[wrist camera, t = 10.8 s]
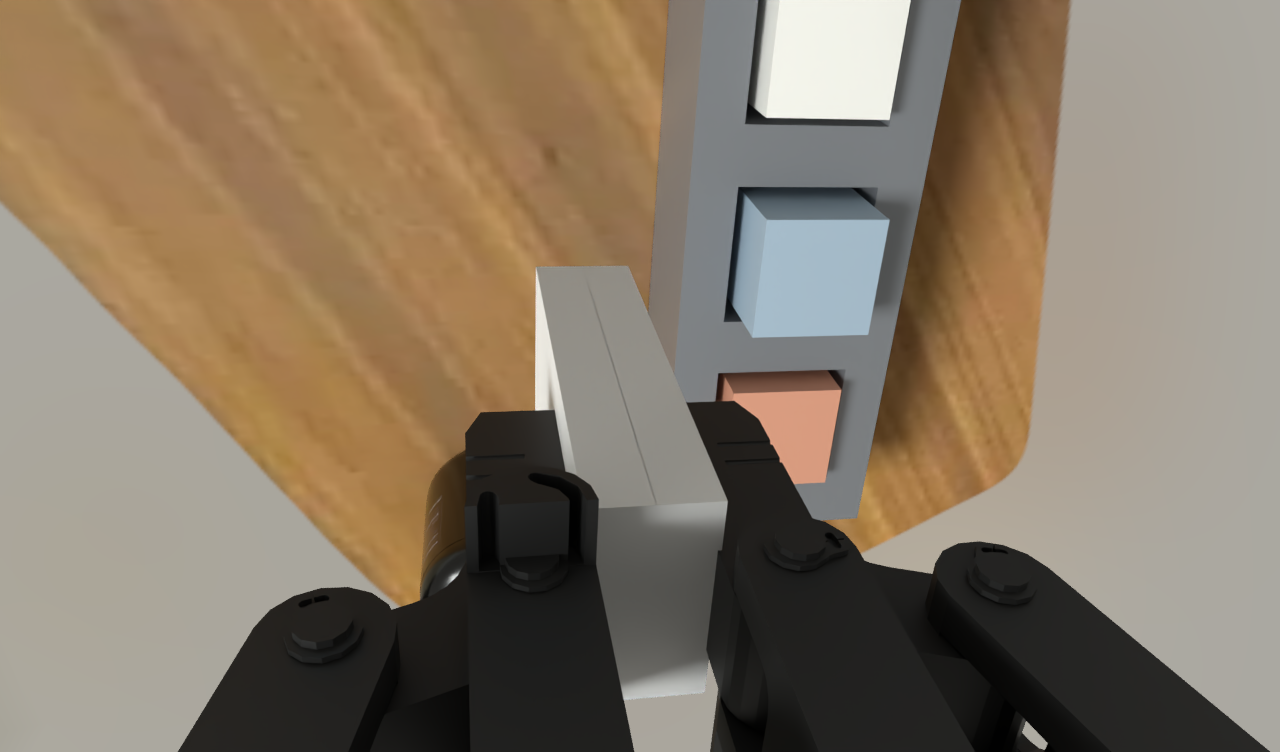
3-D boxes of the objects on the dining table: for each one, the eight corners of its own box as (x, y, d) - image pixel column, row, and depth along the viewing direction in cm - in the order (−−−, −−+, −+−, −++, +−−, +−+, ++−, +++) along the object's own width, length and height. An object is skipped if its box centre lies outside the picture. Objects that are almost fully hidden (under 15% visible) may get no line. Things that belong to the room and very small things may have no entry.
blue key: (733, 181, 41) (766, 219, 36) (844, 182, 42) (889, 219, 37) (722, 289, 43) (752, 337, 39) (827, 287, 44) (867, 334, 40)
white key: (745, -38, 38) (782, -25, 34) (863, -32, 39) (914, -19, 35) (732, 89, 40) (766, 117, 36) (844, 92, 41) (889, 119, 37)
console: (677, -127, 38) (715, -125, 33) (908, -113, 40) (982, -108, 34) (638, 456, 51) (661, 529, 46) (814, 448, 53) (857, 518, 48)
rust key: (707, 343, 46) (733, 393, 42) (805, 340, 47) (841, 389, 43) (698, 431, 48) (722, 487, 44) (792, 427, 49) (825, 482, 45)
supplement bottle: (561, 443, 50) (588, 595, 40) (546, 546, 53) (569, 712, 43) (428, 437, 49) (421, 593, 38) (421, 544, 52) (413, 715, 41)
